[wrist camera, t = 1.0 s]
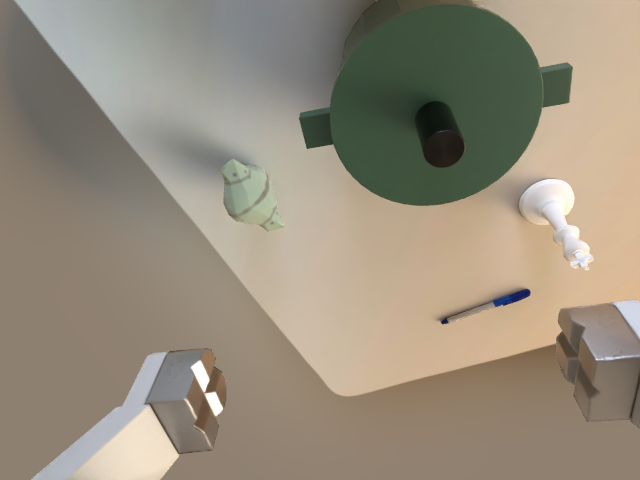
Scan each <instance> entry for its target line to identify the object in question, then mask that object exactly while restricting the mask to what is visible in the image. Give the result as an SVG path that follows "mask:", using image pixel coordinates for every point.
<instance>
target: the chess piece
mask: <svg viewBox="0 0 640 480" xmlns="http://www.w3.org/2000/svg"><path fill="white" fill-rule="evenodd" d="M573 204H574V194H573V191H572V189H571V187H570V186H569V185H568V184H567V183H566V182H564V181H562V180H558V179H546V180H542V181H539V182H537V183H535V184H533V185H532V186H530V187H529V188H528V189H527V190H526V191H525V192H524V193H523V195H522V196H521V198H520V202H519V210H520V212H521V214H522V215H523V216H524V218H525V219H526V220H527V221H529V222H531V223H533V224H538V225H546V224H551V225H552V227H553V228H554V229H555V230H556V232H555V233H554V235H553V239H554V241H555V242H556V243H557V244H558V245H561V246H563V255H564V258H565V259H566V260H568V261H571V263H570V264H571V266H572V267H573V269H576V268H578V267H581V266H582V268H583V270H584V271H586V270H588V269H590V268H589V266H588V265H587V263H590V262H592V261H594V258H593V256H592V255H591V254H589V250H590V249H589V246H588V245H587V244H586V243H584V242H583V241H581V240H579V239H578V238H579V229H578V228H577V227H576V226H573V225H568V224H567V222H566V220H565V216H566V215H567V214H568V213H569V212H570V210H571V209H572V207H573Z"/></svg>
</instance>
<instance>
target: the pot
mask: <svg viewBox="0 0 640 480" xmlns="http://www.w3.org/2000/svg"><path fill="white" fill-rule="evenodd" d="M434 3H462V4H470V5H473V6H477V5H475V4H474V3H473V2H472V1H471V0H378V1H377V2H376V3H375V4H373V5H372V6H371V7H370V8H369V9H368V10H366V11H365V13H363V15H362V16H361V17H360V19H359V20H358V21H357V23H356V24H355V26H354V27H353V29H352V31H351V33H350V34H349V36H348V38H347V39H346V42H345V47H344V51H343V55H342V61H341V66H340V70H341V68H342V66H343V64H344V63H345V61H346V59H347V58H348V56H349V55H350V53H351V52H352V51H353V49H354V48H355V47H356V46H357V44H358V43H359V42H360V41H361V40H362V39H363V38H364V37H365V36H366V35H367V34H368V33H370V32H371V31H372V30H373V29H375V28H376V27H377V26H378V25H380V24H381V23H383V22H384V21H386V20H388V19H389V18H391V17H393V16H395V15H397V14H399V13H402V12H404V11H406V10H408V9H412V8H415V7H419V6H422V5H427V4H434ZM477 7H478V6H477ZM540 70H541V74H542V81H543V104H542V108H543V107H548V106H554V105H560V104H565V103H569V100H570V90H571V80H572V70H573V67H572V66H571V65H570V64H569V63H562V64H556V65H551V66H546V67H540ZM299 120H300V124H301V128H302V132H303V135H304V139H305V143H306V147H307V149H309V148H315V147H320V146H326V145H332V144H334V143H333V140H332V136H331V129H330V107H328V108H323V109H318V110H313V111H307V112H302V113H300V117H299Z"/></svg>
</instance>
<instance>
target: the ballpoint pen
mask: <svg viewBox="0 0 640 480" xmlns="http://www.w3.org/2000/svg"><path fill="white" fill-rule="evenodd" d="M530 293H531V292H530V290H524V291H520V292H517V293H515V294H512V295H509V296H506V297H504V298H501V299H499V300H496V301H493V302H491V303H488V304H485V305H482V306H479V307H477V308H474V309H471V310H468V311H465V312H462V313H460V314H457V315H454V316H451V317H448V318H446V319H444V320H442V321H441V323H442V324H447V323H451V322H454V321H456V320H459V319H462V318H465V317H468V316H471V315H474V314H476V313H479V312H482V311H485V310H488V309H491V308H494V307H497V306H501V305H503V306H505V305H508V304H511V303H514V302H517V301H519V300H522V299H524V298H526V297H528V296H530ZM511 301H512V302H511Z"/></svg>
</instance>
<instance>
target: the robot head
mask: <svg viewBox="0 0 640 480" xmlns="http://www.w3.org/2000/svg"><path fill="white" fill-rule="evenodd" d="M222 175H223V178H224V181H225V185H224V205H225V207H226V210H227V212H228V214H229V215H230V216H231V217H232V218H233V219H234V220H236V221H237V222H243V223H249V224H256V225H260V226H261V227H263V228H264V229H266V230H267V231H272V230H275V229H279V228H282V227H285V226H284V224H283V221H282V218H281V215H280V212H279V210H278V207H277V203H276V199H275V195H274V190H273V185H272V182H271V180H270V178H269V177H268V175H267V174H266V172H265V171H264V170H263V169H262V168H261V167H258V166H256V165H242V164H241V163H239V162H238V161H236V160H235V159H233V158H232V159H231V160H230V161H229V162H228V163H227V164H226V165H225V166H224V167H223V168H222Z"/></svg>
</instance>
